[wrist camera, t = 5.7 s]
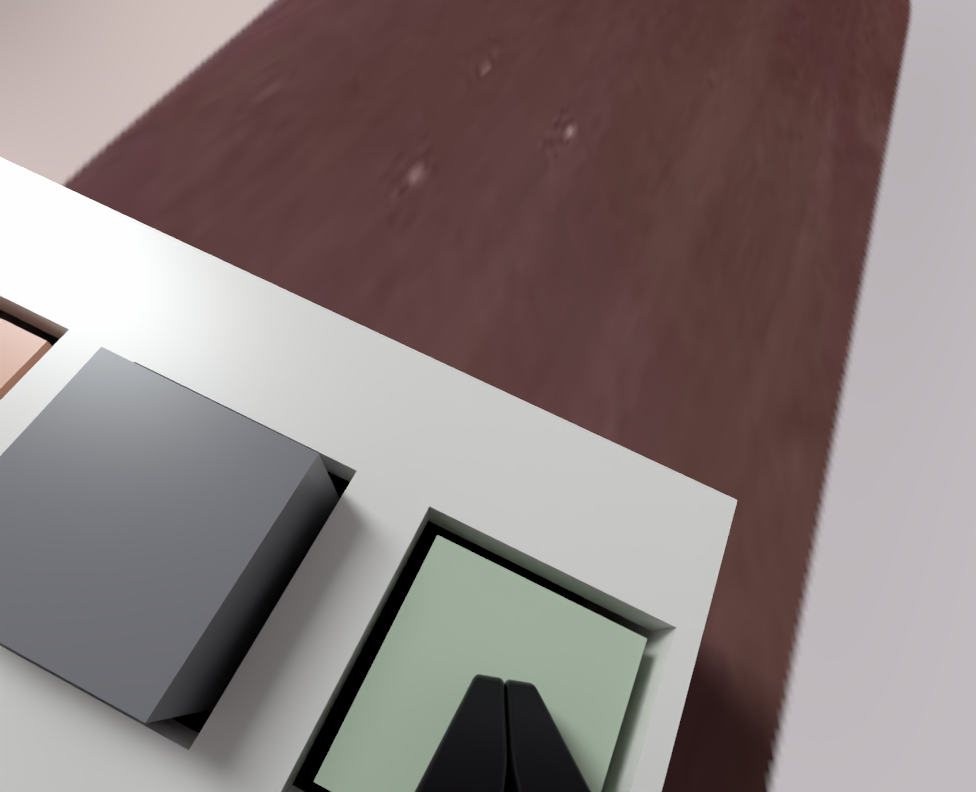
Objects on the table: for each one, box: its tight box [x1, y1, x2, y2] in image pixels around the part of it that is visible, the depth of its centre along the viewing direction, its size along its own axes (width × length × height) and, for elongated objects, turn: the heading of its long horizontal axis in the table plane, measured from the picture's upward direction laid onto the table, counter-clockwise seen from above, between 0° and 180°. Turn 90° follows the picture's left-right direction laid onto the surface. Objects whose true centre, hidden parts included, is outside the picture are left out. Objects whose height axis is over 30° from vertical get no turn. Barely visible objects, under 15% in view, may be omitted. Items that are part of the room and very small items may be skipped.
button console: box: [0, 157, 737, 792], centre depth 12 cm, size 9×16×7 cm, turn 65°
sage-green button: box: [313, 535, 647, 792], centre depth 9 cm, size 4×4×2 cm
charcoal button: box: [0, 347, 340, 723], centre depth 8 cm, size 4×4×2 cm
